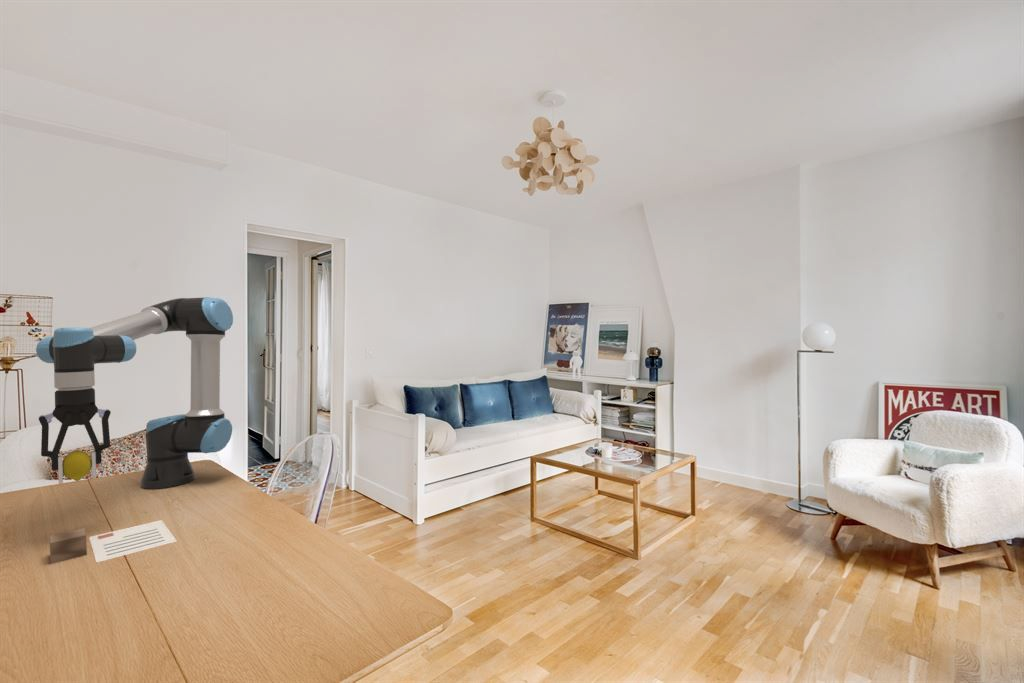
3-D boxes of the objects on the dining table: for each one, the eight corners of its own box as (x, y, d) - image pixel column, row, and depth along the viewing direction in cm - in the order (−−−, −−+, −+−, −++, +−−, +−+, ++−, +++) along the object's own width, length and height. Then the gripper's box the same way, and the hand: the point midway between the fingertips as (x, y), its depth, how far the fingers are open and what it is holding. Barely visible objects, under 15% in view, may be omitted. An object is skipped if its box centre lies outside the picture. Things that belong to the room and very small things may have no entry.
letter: (161, 520, 132) (161, 519, 132) (177, 542, 118) (177, 541, 118) (89, 537, 121) (89, 536, 121) (96, 563, 107) (96, 562, 107)
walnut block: (84, 548, 115) (84, 527, 115) (86, 556, 111) (86, 535, 111) (50, 556, 111) (49, 535, 111) (51, 565, 107) (50, 543, 107)
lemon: (98, 477, 123) (96, 447, 123) (76, 484, 118) (74, 452, 118) (79, 477, 124) (77, 447, 124) (56, 484, 118) (55, 452, 118)
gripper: (120, 384, 130) (122, 469, 130) (23, 390, 117) (26, 485, 117) (123, 386, 124) (126, 474, 125) (22, 393, 111) (24, 491, 112)
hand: (77, 479), depth 121 cm, fingers closed on lemon, 5 cm apart
